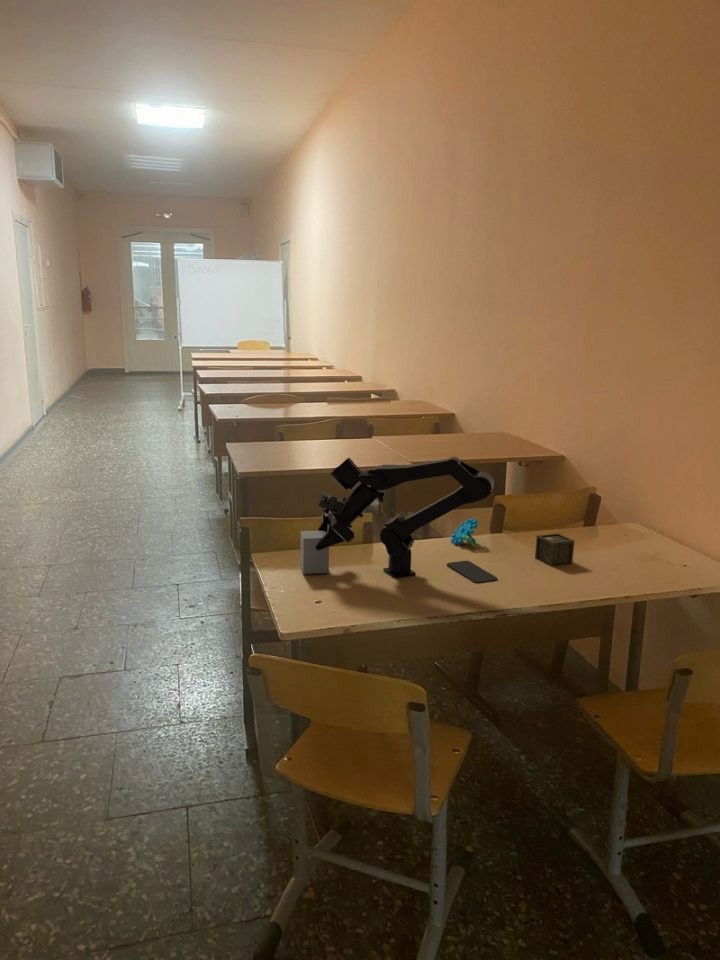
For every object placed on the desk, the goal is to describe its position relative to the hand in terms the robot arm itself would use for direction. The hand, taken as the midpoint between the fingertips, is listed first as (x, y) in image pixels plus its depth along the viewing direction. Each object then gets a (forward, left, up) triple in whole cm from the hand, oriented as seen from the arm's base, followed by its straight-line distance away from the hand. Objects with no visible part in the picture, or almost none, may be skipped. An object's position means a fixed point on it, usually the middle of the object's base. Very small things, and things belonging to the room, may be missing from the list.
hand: (314, 544), depth 184 cm
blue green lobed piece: (+5, -50, -7) cm, 51 cm away
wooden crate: (-18, -65, -8) cm, 68 cm away
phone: (-17, -38, -8) cm, 42 cm away
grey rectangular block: (0, 0, -7) cm, 7 cm away
